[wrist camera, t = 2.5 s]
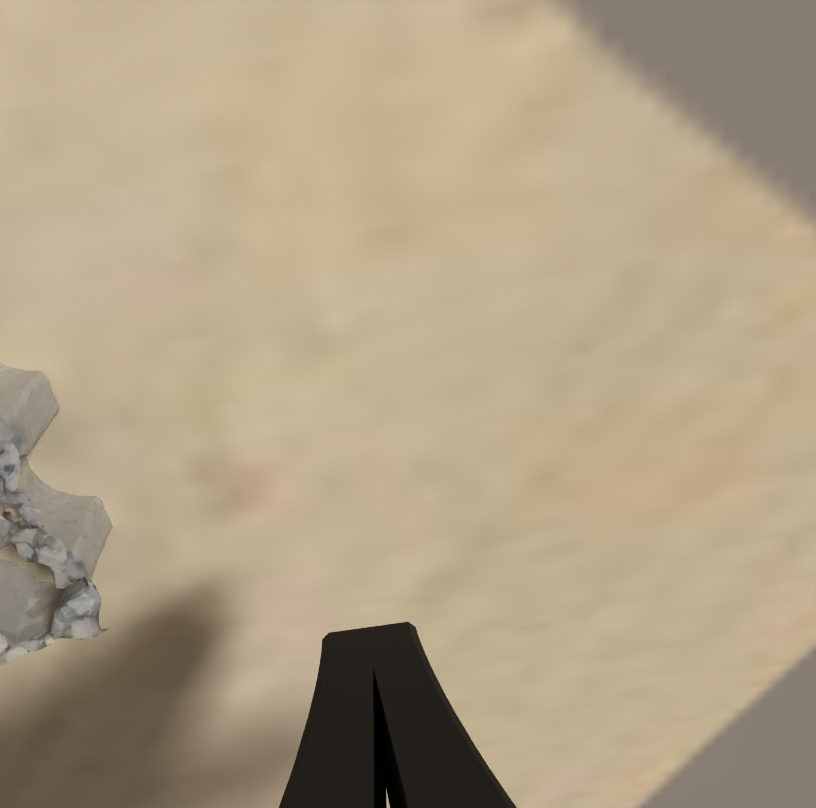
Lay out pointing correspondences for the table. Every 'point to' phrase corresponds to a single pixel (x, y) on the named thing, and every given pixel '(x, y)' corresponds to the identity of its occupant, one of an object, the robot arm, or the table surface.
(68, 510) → the grey jagged block
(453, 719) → the robot arm
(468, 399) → the table surface
